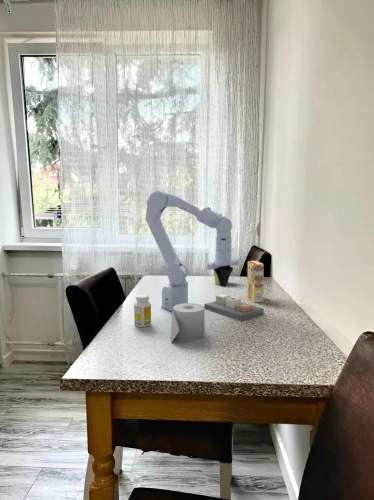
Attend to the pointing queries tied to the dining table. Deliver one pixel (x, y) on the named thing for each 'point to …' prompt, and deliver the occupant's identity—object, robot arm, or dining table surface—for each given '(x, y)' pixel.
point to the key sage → (221, 299)
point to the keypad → (233, 311)
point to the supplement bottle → (142, 311)
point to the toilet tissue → (188, 322)
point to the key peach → (244, 307)
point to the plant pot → (217, 278)
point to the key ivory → (233, 302)
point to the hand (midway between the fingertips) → (223, 286)
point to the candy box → (255, 281)
